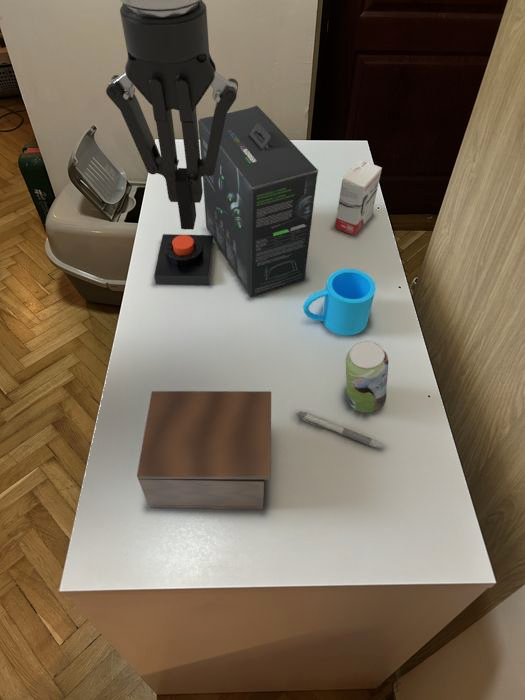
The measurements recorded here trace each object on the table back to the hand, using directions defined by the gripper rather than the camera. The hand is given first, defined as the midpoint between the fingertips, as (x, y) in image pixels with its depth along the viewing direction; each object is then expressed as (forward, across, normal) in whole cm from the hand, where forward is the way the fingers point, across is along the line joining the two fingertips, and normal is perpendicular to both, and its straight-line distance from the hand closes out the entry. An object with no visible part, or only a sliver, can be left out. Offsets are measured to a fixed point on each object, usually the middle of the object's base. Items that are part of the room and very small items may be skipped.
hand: (188, 222), depth 64 cm
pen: (+30, -21, +11) cm, 38 cm away
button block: (+30, +7, -25) cm, 39 cm away
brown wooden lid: (+20, -3, +18) cm, 27 cm away
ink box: (+30, -27, -40) cm, 57 cm away
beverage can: (+30, -25, +5) cm, 39 cm away
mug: (+30, -22, -12) cm, 39 cm away
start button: (+26, +7, -25) cm, 37 cm away
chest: (+30, -2, +18) cm, 34 cm away
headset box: (+30, -6, -29) cm, 42 cm away
